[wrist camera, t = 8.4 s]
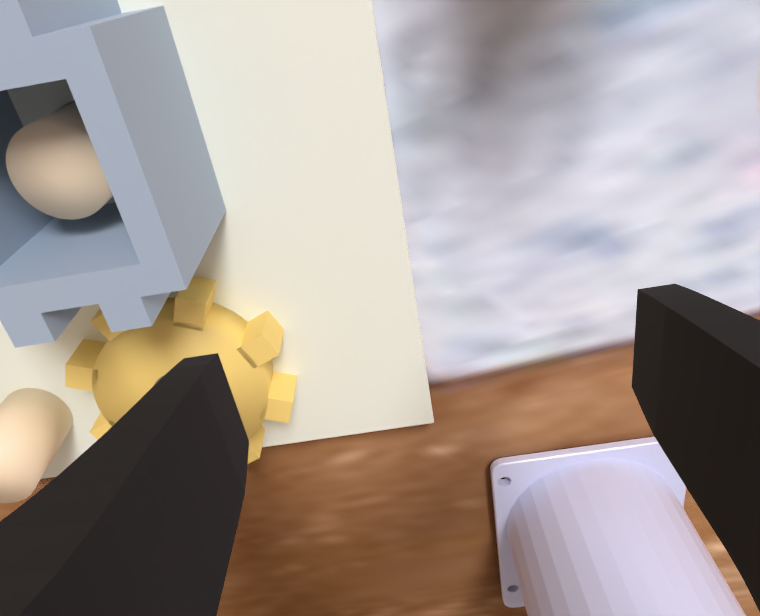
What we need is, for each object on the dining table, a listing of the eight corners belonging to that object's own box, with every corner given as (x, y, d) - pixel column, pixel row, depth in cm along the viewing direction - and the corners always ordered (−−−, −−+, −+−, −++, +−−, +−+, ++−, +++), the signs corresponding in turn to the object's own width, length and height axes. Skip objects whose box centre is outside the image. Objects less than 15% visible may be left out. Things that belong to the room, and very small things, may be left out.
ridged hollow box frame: (233, 234, 19) (197, 318, 15) (58, 263, 19) (-29, 354, 15) (152, -30, 15) (71, -23, 11) (-62, 10, 16) (-223, 34, 11)
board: (431, 405, 24) (443, 482, 20) (34, 462, 25) (-19, 546, 21) (345, -175, 15) (341, -214, 11) (-278, -54, 16) (-460, -55, 12)
